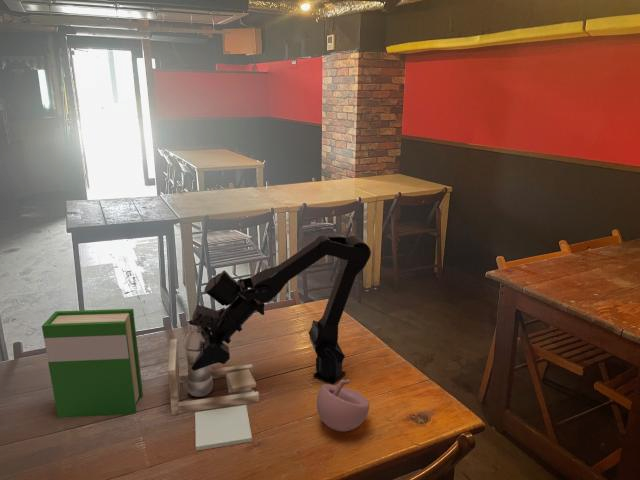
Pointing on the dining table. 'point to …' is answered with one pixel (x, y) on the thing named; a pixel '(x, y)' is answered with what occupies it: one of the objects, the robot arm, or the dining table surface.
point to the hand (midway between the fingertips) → (192, 360)
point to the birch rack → (207, 403)
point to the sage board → (222, 427)
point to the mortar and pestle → (341, 406)
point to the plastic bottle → (193, 343)
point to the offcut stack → (240, 382)
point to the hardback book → (93, 362)
